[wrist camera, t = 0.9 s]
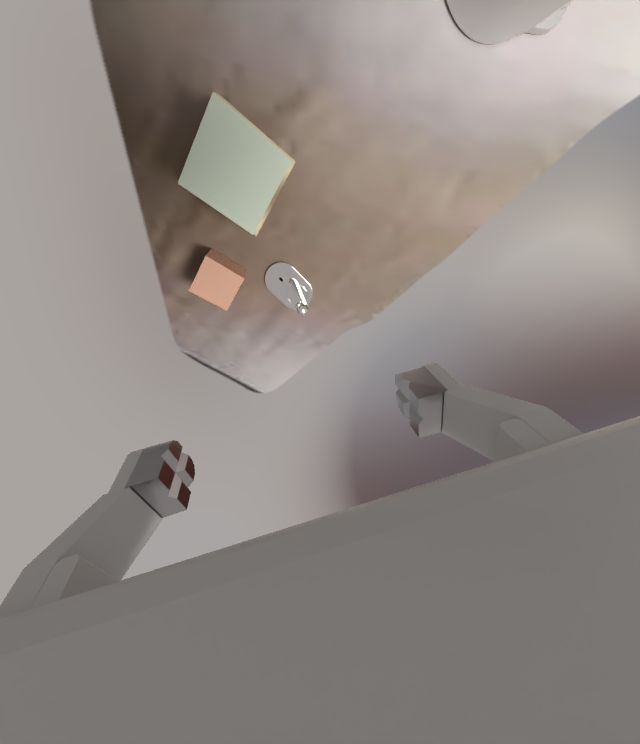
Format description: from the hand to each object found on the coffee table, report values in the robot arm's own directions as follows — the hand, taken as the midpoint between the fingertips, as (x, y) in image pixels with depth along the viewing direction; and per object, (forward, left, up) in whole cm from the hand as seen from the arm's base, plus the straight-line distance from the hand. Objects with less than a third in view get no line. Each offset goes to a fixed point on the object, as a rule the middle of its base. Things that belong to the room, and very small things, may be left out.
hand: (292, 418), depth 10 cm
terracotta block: (+6, -4, -34) cm, 35 cm away
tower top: (-5, -7, -31) cm, 32 cm away
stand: (+3, +5, -34) cm, 35 cm away
